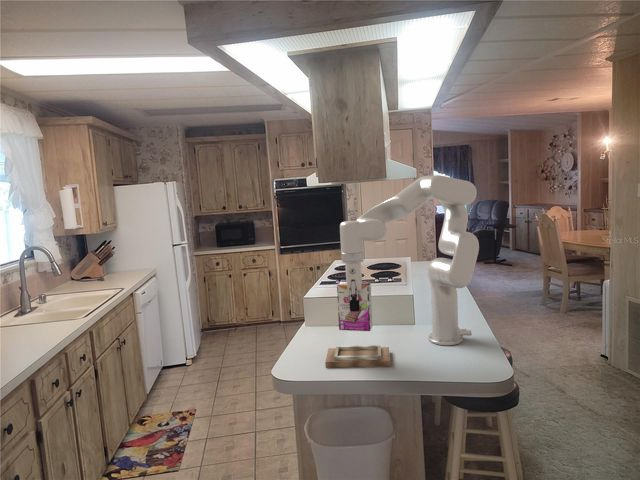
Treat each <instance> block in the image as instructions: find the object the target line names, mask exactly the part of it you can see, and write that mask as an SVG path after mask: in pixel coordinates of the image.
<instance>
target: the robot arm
mask: <svg viewBox="0 0 640 480" xmlns="http://www.w3.org/2000/svg"><path fill="white" fill-rule="evenodd" d="M477 191H478V190H477V187H476V185H474V184H473V183H472V182H471V181H468V180H465V179H459V178H455V177H449V176H446V175H438V174H435V175H423V176H421V177H418V178H417V179H415V180H414V181H413V182H411V183H410V184H409V185H407V186H406V187H405V188H403V189H402V190H401V191H400V192H398V193H397V194H396V195H395V196H394V195H393V197H391V198H389V199H387V200H385V201H383V202H381V203H379V204H377V205H375V206H373V207H372V208H370V209H369V210H367V211H365V212H364V213H363V214H361V216H359V217H358V218H357V219H356V220H345V221H342V222H340V224H339V234H340V235H339V236H340V237H339V239H340V256H341V257H340V258H341V263H343V264H344V265H345V267H344V268H345V278H346V279H345V280H346V281H345V282H347V289H348V291H349V292H350V311H351V312H357V311H360V308H359V300H358V291H360V292H361V291H362V282H363V276H362V271H363V270H362V263H363V262H364V261H365V259H364V242H377V241H380V240H382V239H384V237H385V236H386V234H387V231H388V230H387V225H386V224H387V223H388V222H392V221H396V220H400V219H404V218H407V217H409V216H410V215H412V214H413V213H414V212H416V211H417V210H418V209H419V208H420V207H422V206H423V205H425V204H426V203H427V202H428V201H430V200H431V201H434V200H435V201H438V202H439V203H440V205H441V207H442V209H443V212H444V218H443V223H442V227H441V232H440V234H439V235H440V236H439V239H438V247H437V248H438V250H439V252H440V253H442V254H443V255H444V254H445V255H448V256H452V259H451V258H446V257H437V258H434V259H433V260H431V262H430V263H429V264H428V267H427V275H428V280H429V285H430V294H431V295H430V296H431V323H432V325H431V326H432V327H431V330H432V331H431V333H430V334H429V335H428V341H429V342H431V343H432V344H434V345H438V346H439V345H440V346H455V345H458V344H461V343H462V342H463V340H464V336H466V337H467V336H472V333H473V332H472V329H471V330H469V329H468V330H467V328H460V327H459V316H458V315H459V309H458V307H459V302H458V300H459V299H458V290H457V289H463V288H466V287H467V286H468V285H469V284H470V282H471V281H472V278H473V275H474V272H475V267H476V263H477V260H478V255H479V251H480V243H479V239H478V238H477V236H476V235H475V234H474V233H472V232H470V231H467V228H468V224H469V223H468V221H469V212H468V209H467V207H466V206H468V205H471V204H472V203H473V202H474V201H475V200H476V198H477V194H478V193H477ZM349 288H350V289H349ZM351 289H352V291H351ZM355 289H357V291H355ZM355 293H356V294H355ZM356 296H357V297H356Z"/></svg>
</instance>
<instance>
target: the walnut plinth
mask: <svg viewBox="0 0 640 480" xmlns="http://www.w3.org/2000/svg"><path fill="white" fill-rule="evenodd" d="M391 361H392V360H391V354H390V347H389V346H381V345H378V344H377V345H376V344H375V345H374V344H373V345H372V344H371V345H368V344H367V345H338V346H335V348H333V347H331V348H327V353H326V358H325V362H324V363H325V364H324V365H325V368H327V369H329V368H372V367H373V368H376V367H377V368H379V367H380V368H381V367H387V368H388V367H389V368H390V367H392V366H391V365H392V363H391Z"/></svg>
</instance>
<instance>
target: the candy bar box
mask: <svg viewBox="0 0 640 480" xmlns="http://www.w3.org/2000/svg"><path fill="white" fill-rule="evenodd" d="M336 288H337V289H336V291H337V292H336V293H337V312H338V330H339V331H354V332H355V331H356V332H371V330H372V328H373V312H372V311H373V309H372V308H373V307H372V282H370V281H362V291H361V292H360V291H358V300H359V308H360V311H357V312H351V311H350V292H349V291H348V289H347V281H339V283H337V284H336ZM349 289H350V288H349ZM351 291H352V289H351ZM355 291H357V289H355ZM355 294H356V293H355ZM356 297H357V296H356Z"/></svg>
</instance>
